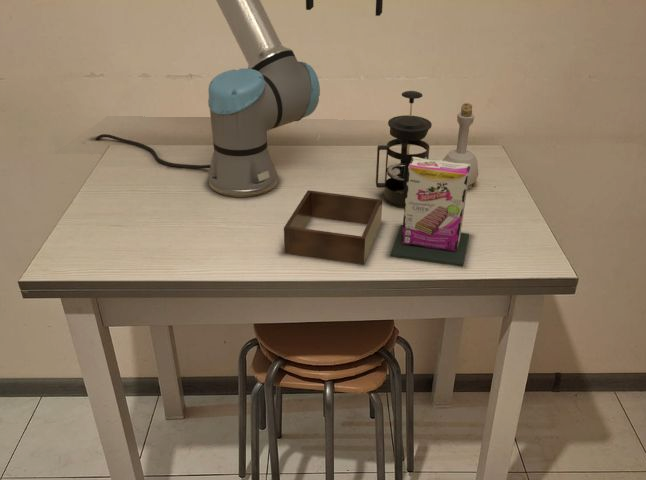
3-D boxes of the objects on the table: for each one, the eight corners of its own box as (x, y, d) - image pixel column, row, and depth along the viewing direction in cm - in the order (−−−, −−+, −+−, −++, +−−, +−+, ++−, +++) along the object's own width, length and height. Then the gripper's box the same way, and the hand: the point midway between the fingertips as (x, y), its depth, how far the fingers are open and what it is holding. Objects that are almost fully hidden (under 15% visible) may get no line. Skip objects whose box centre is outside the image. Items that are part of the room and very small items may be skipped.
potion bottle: (475, 176, 163) (486, 99, 152) (476, 193, 156) (488, 113, 145) (438, 174, 164) (446, 97, 152) (437, 190, 157) (446, 111, 145)
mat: (390, 256, 134) (390, 253, 133) (400, 227, 143) (400, 224, 142) (462, 266, 131) (463, 263, 131) (468, 236, 141) (469, 233, 140)
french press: (425, 189, 157) (435, 85, 143) (431, 208, 150) (442, 101, 135) (373, 188, 156) (378, 84, 142) (376, 208, 149) (381, 100, 135)
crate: (284, 253, 133) (283, 227, 130) (308, 214, 146) (307, 190, 143) (364, 264, 131) (365, 238, 128) (381, 223, 144) (382, 199, 140)
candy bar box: (400, 245, 136) (406, 166, 125) (404, 233, 139) (411, 155, 129) (457, 253, 134) (468, 173, 124) (460, 241, 138) (471, 162, 127)
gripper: (270, -125, 119) (275, 10, 132) (414, -117, 115) (404, 21, 128) (283, -128, 125) (287, 1, 138) (420, -121, 121) (411, 12, 134)
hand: (344, 11), depth 133 cm, fingers open, 13 cm apart
